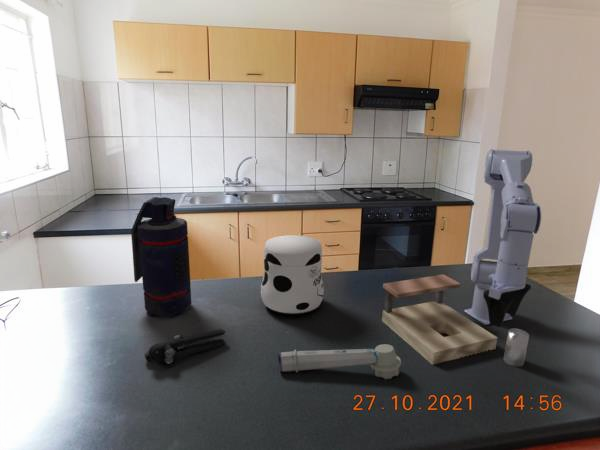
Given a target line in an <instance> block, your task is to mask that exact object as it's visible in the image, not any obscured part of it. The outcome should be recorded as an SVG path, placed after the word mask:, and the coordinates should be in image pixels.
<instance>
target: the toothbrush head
mask: <svg viewBox="0 0 600 450" xmlns="http://www.w3.org/2000/svg"><path fill="white" fill-rule="evenodd" d="M277 360H278V369H279V370H278V371H279V372H280V373H285V372H295V373H299V372H301V371H308V370H309V371H311V370H323V369H330V368H331V369H332V368H344V367H353V366H363V365H370V368H371V369H372V371H371V372H372V375H374V376H375V377H377V378H378V377H379V378H383V380H389V379H391V380H392V378H393V377H398V376H399V374H400V371H401V370H400V367H401V365H402V361H401V358H400V357H399V356H398V355H397V354H396V349H395V348H394V346H393V345H391V344H387V343H386V344H385V343H384V344H379V345H377V346H376V347H375V348H360V349H359V348H355V349H329V350H327V349H326V350H325V349H324V350H323V349H321V350H320V349H319V350H297V349H294V350H292V351H282V352H278V357H277Z"/></svg>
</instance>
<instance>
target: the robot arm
mask: <svg viewBox="0 0 600 450" xmlns="http://www.w3.org/2000/svg"><path fill="white" fill-rule="evenodd" d="M532 166H533V154H532V152H531V151H530V150H526V151H525V150H523V151H522V150H507V149H506V150H505V149H493V148H491V149H489V150H488V151H487V153H486V157H485V163H484V173H483V174H484V175H483V179H484V183H485V184H487V185H489V186H490V190H491V197H490V209H489V219H488V224H487V225H488V226H487V227H488V228H487V239H486V245H485V246H486V247H485V248H482V249H481V250H479V251H478V252H476V253H475V254H474V256H473V259H472V265H471V269H470V272H471V273H470V279H471V281H472V283H474V284H475V285H474V290H473V291H474V292H473V298H472V304H471V305H472V306H471V308H467V309H464V310H463V313H466V314H467V315H469V316H470V317H472V318H474V319H475V320H477V321H478V322H480V323H482V324H483V325H485V326H487V325H491V326H492V325H493V326H495V327H498V328H500V327H502V324H503V322H505V321H510V320H513V316H514V317H515V315H516V314H517V312H518V310H519V308H520V305H521V303H522V301H523V299H524V298H525V296H526V295H527V293H529V291H531V289H532V286H531V285H530V284H529V283H528V284H527V282H526V281H527V277H528V276H527V275H528V273H527V272H528V267H529V261H530V258H531V257H530V256H531V251H532V246H533V241H534V235H536V234H538V232H539V230H540V228H541V227H540V226H541V223H542V209H541V206H540V205H539V204H538V203H537V202H534V197H533V194H532V190H531V187H530V185H528V183H526V182H525V181H526V179H527V177H528V176H529V174H530V172H531V169H532ZM485 259H487V260H485ZM491 260H493V261H491Z"/></svg>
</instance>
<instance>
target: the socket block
mask: <svg viewBox="0 0 600 450" xmlns="http://www.w3.org/2000/svg"><path fill="white" fill-rule="evenodd" d="M382 288H383V289H384V290H385V296H384V297H385V298H384V306H383V307H384V308H383V310H382V315H381V316H382V317H381V321H382V323H383V324H385V325H386V326H387V327H389V329H391V330H392V331H393V332H394V333H395V334H396V335H398V336H399V337H400V339H402V340H403V341H405V342H406V343H407V344H408V345H409V346H410V347H411V348H412V349H414V350H415V351H416V352H417V353H418V354H419V355H421V356H422V358H424V359H425V360H426V361H427V362H429V363H430V364H431V366H433V365H437V364H440V363H445V362H449V361H453V360H457V359H461V357H462V358H465V356H466V357H469V355H470V356H473V354H474V355H477V353H478V354H481V352H482V353H485V351H486V352H489V351H488V350H490V351H493V349H494V350H496V347H497V343H498V337H497V336H496V335H495V334H493V333H491V332H489V331H488V330H486V329H485V328H483V327H482V326H480V325H479V324H477V323H475V322H474V321H472V320H471V319H469V318H468V317H466V316H465V315H463V314H461V313H460V312H458V311H457V310H455V309H454V308H452V307H450V306H449V305H447V304H446V303H444V302H443V299H444V292H445V290H453V289H457V288H461V283H460V282H458V281H457V280H455V279H453V278H451V277H449V276H447V275H445V274H438V275H430V276H425V277H417V278H411V279H406V280H405V279H404V280H398V281H392V282H386V283H383V284H382ZM428 293H429V294H430V293H435V294H434V301H433V300H432V301H428V302H423V303H418V304H412V305H405V306H401V307H400V306H399V307H395V308H393V303H394V297H395V298H397V299H400V298H405V297H413V296H417V295H423V294H428ZM442 334H446V335H447V336H444V335H442Z"/></svg>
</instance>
